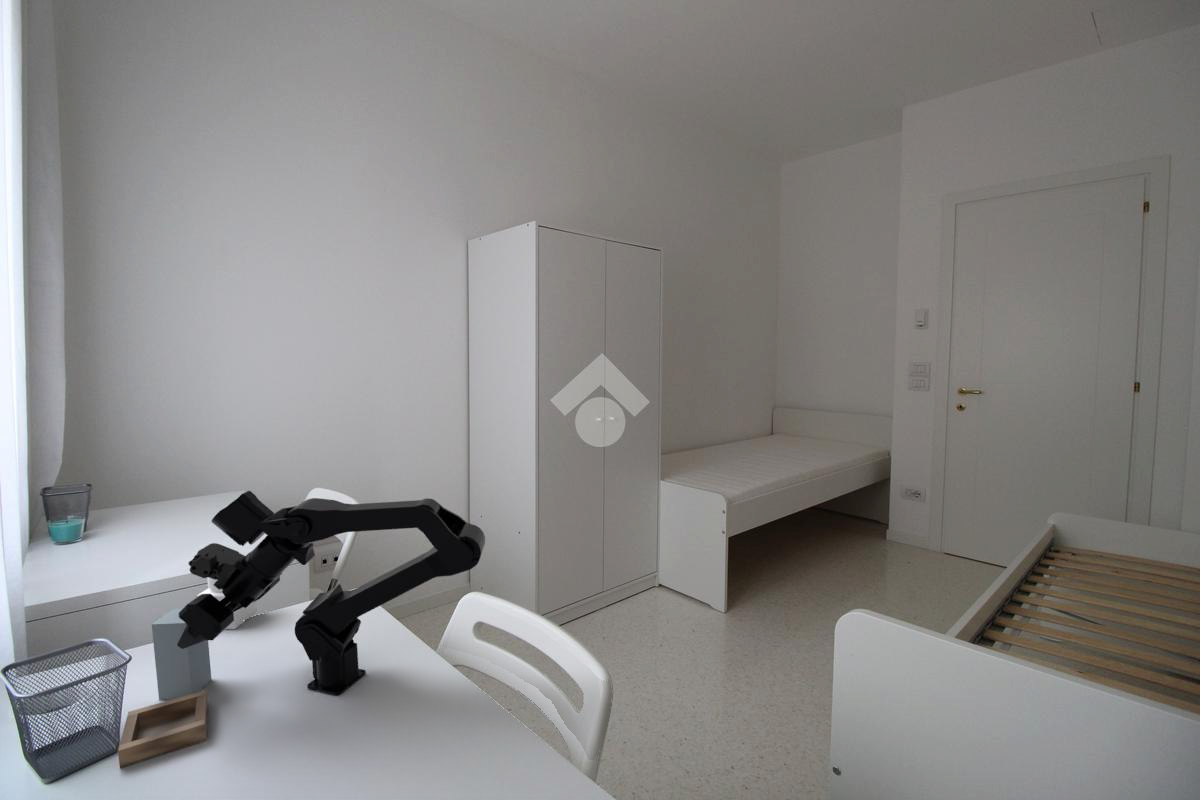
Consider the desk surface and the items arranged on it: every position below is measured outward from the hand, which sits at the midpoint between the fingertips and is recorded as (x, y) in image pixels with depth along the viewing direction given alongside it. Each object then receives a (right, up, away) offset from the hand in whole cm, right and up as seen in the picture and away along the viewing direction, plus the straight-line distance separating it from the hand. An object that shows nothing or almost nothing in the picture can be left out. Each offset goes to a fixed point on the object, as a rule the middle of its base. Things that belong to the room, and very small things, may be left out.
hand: (199, 631), depth 91 cm
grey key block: (-3, -10, +1) cm, 10 cm away
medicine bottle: (-10, -8, +23) cm, 26 cm away
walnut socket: (+2, -11, -10) cm, 15 cm away
